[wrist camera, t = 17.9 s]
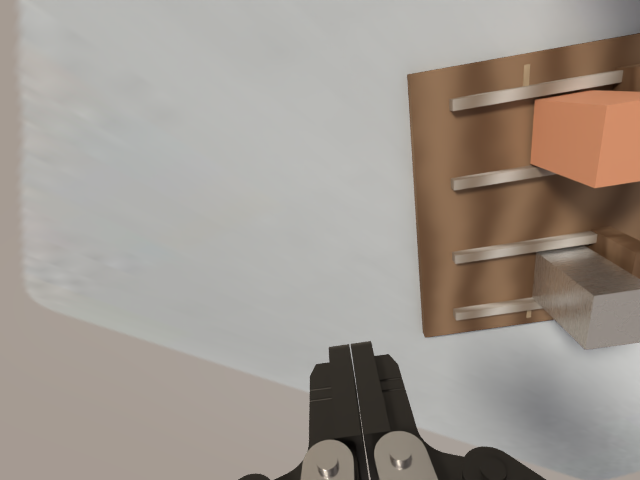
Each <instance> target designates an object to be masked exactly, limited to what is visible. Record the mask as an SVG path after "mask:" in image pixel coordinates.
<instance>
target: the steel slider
mask: <svg viewBox="0 0 640 480" xmlns="http://www.w3.org/2000/svg"><path fill="white" fill-rule="evenodd" d="M532 298H533V299H534V300H535V301H536V302H537V303H538V304H539V305H540V306H541V307H542V308H543V309H544V310H545V311H546V312H547V313H548V314H549V315H551V316H552V317H553V318H554V319H555V320H556V321H557V322H558V323H559V324H560V325H561V326H562V327H563V328H564V329H565V330H566V331H567V332H568V333H569V334H570V335H571V336H572V337H573V338H574V339H575V340H576V341H577V342H578V343H579V344H580V345H581V346H582V347H583V348H584V349H585V350H588V349H595V348H602V347H610V346H617V345H625V344H632V343H639V342H640V279H639V278H637V277H635V276H634V275H632V274H630V273H629V272H627V271H625V270H624V269H622V268H621V267H619V266H617V265H616V264H614V263H612V262H611V261H609V260H607V259H606V258H604V257H602V256H601V255H599V254H597V253H596V252H594V251H592V250H591V249H589V248H588V247H586V246H584V245H579V246H572V247H566V248H559V249H552V250H546V251H539V252H536V258H535V270H534V282H533V293H532Z"/></svg>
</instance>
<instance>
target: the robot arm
mask: <svg viewBox="0 0 640 480" xmlns="http://www.w3.org/2000/svg"><path fill="white" fill-rule="evenodd" d="M351 349H352V357H353V364H354V371H355V377H354V371H353V365H352V359H351V353H350V347H349V344H348V345H340V346H333V347H329V360H330V363H322V364H316V366H315V368H314V369H313V371H312V373H311V375H310V414H309V415H310V416H309V419H310V420H309V447H308V451H307V453H306V455H305V457H304V460H303V461H302V462H301V463H300V464H299V466H297V467H296V468H295V469H294V470H292V471H291V472H289V473H288V474H285V475H283V476H281V477H279V478H277V479H275V480H369V477H368V470H367V463H366V455H365V448H364V441H365V447H366V453H367V459H368V465H369V471H370V477H371V480H546V479H544V478H543V477H541V476H540V475H538V474H537V473H535V472H534V471H532V470H531V469H529V468H528V467H526V466H525V465H523V464H522V463H520V462H518V461H517V460H515V459H514V458H512V457H511V456H509V455H508V454H506V453H505V452H503V451H501V450H498V449H496V448H492V447H477V448H474V449H472V450H471V451H469V452H468V453H467V454H466V455H465V457H462V456H457V455H451V454H447V453H442V452H440V451H438V450H436V449H434V448H432V447H431V446H429V445H428V444H427V443H426V442H424V440H423V439H422V438H421V437H420V435H419V433H418V430H417V427H416V424H415V421H414V417H413V414H412V410H411V407H410V404H409V400H408V397H407V394H406V390H405V387H404V383H403V380H402V377H401V373H400V370H399V366H398V364H397V363H396V362H395V361H394V360H393V358H392V357H391V356H390V355H389V354H387V355H379V356H374V353H373V348H372V344H371V341H368V342H361V343H354V344H351ZM355 378H356V383H355ZM356 385H357V390H356ZM357 392H358V397H357ZM358 400H359V404H358ZM359 407H360V412H359ZM360 414H361V419H360ZM361 421H362V426H361ZM362 428H363V434H362ZM363 435H364V441H363ZM239 480H270V479H269V478H268V477H266V476H264V475H261V474H250V475H246V476H244V477H242V478H240V479H239Z"/></svg>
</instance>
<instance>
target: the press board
mask: <svg viewBox="0 0 640 480" xmlns="http://www.w3.org/2000/svg"><path fill="white" fill-rule="evenodd" d="M407 79H408V95H409V112H410V128H411V144H412V161H413V177H414V194H415V210H416V227H417V243H418V259H419V276H420V292H421V309H422V325H423V334H424V336H425V337H432V336H439V335H447V334H454V333H461V332H468V331H475V330H482V329H489V328H497V327H504V326H511V325H518V324H525V323H532V322H539V321H547V320H554V318H553V317H552V316H551V315H549V314H548V313H547V312H546V311H545V310H544V309H543V308H542V307H541V306H540V305H539V304H538V303H537V302H536V301H535V300H534V299H533V298H532V293H533V282H534V270H535V258H536V252H539V251H546V250H552V249H559V248H566V247H572V246H579V245H584V246H586V247H588V248H589V249H591V250H592V251H594V252H596V253H597V254H599V255H601V256H602V257H604V258H606V259H607V260H609V261H611V262H612V263H614V264H616V265H617V266H619V267H621V268H622V269H624V270H625V271H627V272H629V273H630V274H632V275H634V276H635V277H637V278H639V279H640V181H638V182H631V183H625V184H619V185H612V186H606V187H600V188H593V187H590V186H588V185H585V184H582V183H580V182H577V181H574V180H572V179H569V178H567V177H564V176H561V175H559V174H556V173H553V172H551V171H548V170H546V169H543V168H540V167H538V166H535V165H532V164H530V161H531V147H532V132H533V118H534V104H535V100H536V99H542V98H548V97H554V96H559V95H565V94H571V93H577V92H583V91H589V90H600V91H632V92H640V33H638V34H633V35H627V36H621V37H616V38H610V39H604V40H599V41H593V42H588V43H582V44H576V45H571V46H565V47H560V48H554V49H548V50H543V51H537V52H532V53H526V54H520V55H515V56H509V57H504V58H498V59H492V60H487V61H481V62H475V63H470V64H464V65H459V66H453V67H447V68H442V69H436V70H431V71H425V72H419V73H414V74H408V75H407Z"/></svg>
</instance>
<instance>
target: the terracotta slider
mask: <svg viewBox="0 0 640 480" xmlns="http://www.w3.org/2000/svg"><path fill="white" fill-rule="evenodd" d="M530 164H532V165H535V166H538V167H540V168H543V169H546V170H548V171H551V172H553V173H556V174H559V175H561V176H564V177H567V178H569V179H572V180H574V181H577V182H580V183H582V184H585V185H588V186H590V187H593V188H600V187H606V186H612V185H619V184H625V183H631V182H638V181H640V92H632V91H600V90H589V91H583V92H577V93H571V94H565V95H559V96H554V97H548V98H542V99H536V100H535V104H534V118H533V132H532V147H531V161H530Z"/></svg>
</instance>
